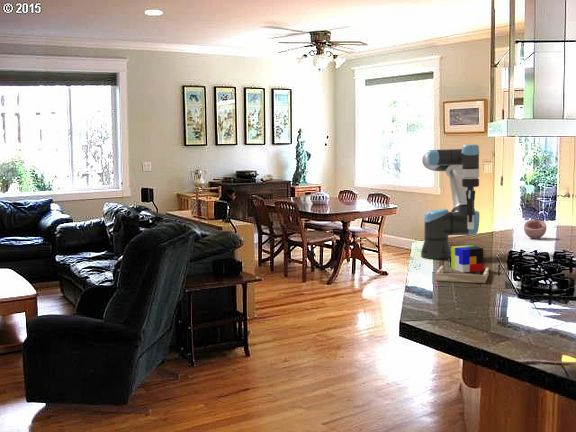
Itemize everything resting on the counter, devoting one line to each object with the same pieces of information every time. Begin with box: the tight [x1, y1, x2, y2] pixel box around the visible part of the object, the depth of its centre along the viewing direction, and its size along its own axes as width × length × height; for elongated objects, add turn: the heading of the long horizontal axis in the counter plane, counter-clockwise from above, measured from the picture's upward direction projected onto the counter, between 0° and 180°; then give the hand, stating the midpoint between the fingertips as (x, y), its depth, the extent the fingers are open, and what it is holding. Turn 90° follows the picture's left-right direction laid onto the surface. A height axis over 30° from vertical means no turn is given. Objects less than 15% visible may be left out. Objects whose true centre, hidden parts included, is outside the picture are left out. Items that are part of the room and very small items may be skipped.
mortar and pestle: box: [523, 218, 547, 240], centre depth 375 cm, size 12×12×12 cm
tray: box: [434, 265, 490, 284], centre depth 277 cm, size 18×20×3 cm
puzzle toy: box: [450, 244, 484, 273], centre depth 294 cm, size 10×10×10 cm
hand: (470, 228), depth 306 cm, fingers closed
